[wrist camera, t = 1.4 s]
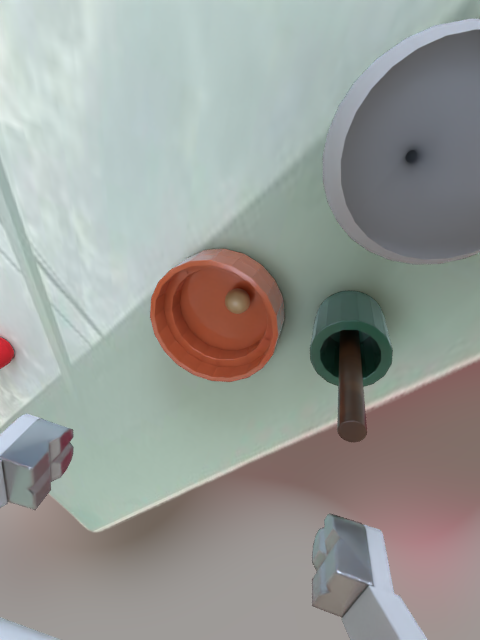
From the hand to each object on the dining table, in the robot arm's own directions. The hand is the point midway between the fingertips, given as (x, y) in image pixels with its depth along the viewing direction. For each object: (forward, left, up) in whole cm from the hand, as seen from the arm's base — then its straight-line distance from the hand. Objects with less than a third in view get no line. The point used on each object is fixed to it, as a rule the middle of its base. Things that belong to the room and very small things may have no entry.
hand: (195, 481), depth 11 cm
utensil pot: (-5, +10, -32) cm, 33 cm away
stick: (-5, +10, -31) cm, 33 cm away
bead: (+8, +6, -30) cm, 31 cm away
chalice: (-10, -7, -32) cm, 34 cm away
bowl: (+10, +8, -32) cm, 34 cm away
